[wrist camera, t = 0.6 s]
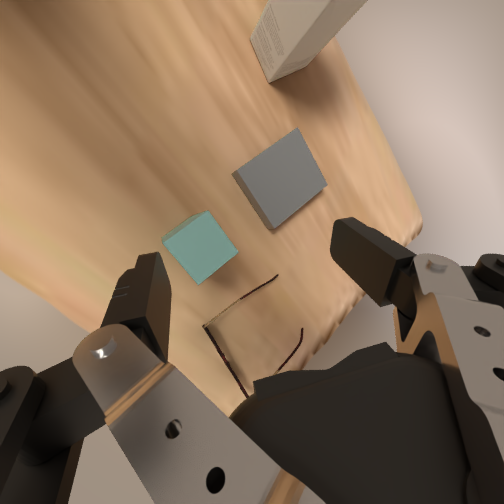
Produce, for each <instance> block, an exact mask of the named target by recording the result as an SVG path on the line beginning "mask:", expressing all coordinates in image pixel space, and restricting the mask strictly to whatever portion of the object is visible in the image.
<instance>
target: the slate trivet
mask: <svg viewBox="0 0 504 504" xmlns="http://www.w3.org/2000/svg"><path fill="white" fill-rule="evenodd" d="M232 176H233V177H234V179H235V180H236V182H237V183H238V185H239V186H240V188H241V189H242V191H243V192H244V194H245V195H246V197H247V198H248V200H249V202H250V203H251V205H252V206H253V208H254V209H255V211H256V212H257V214H258V215H259V217H260V218H261V220H262V221H263V223H264V224H265V226H266V227H267V229H275V228H276V227H277V226H279V225H280V224H281V223H282V222H283V221H285V220H286V219H287V218H288V217H289V216H291V215H292V214H293V213H294V212H296V211H297V210H298V209H299V208H300V207H302V206H303V205H304V204H305V203H306V202H308V201H309V200H310V199H311V198H312V197H314V196H315V195H316V194H317V193H318V192H320V191H321V190H322V189H323V188H324V187H326V186H327V183H326V181H325V179H324V177H323V175H322V173H321V171H320V169H319V167H318V165H317V163H316V161H315V160H314V158H313V156H312V154H311V152H310V150H309V148H308V146H307V144H306V142H305V140H304V138H303V136H302V134H301V132H300V131H299V129H298V127H297V128H296V129H294V130H293V131H292V132H290V133H289V134H287V135H286V136H284V137H283V138H282V139H280V140H279V141H277V142H276V143H275V144H273V145H272V146H270V147H269V148H267V149H266V150H265V151H263V152H262V153H260V154H259V155H258V156H256V157H255V158H253V159H252V160H250V161H249V162H248V163H246V164H245V165H243V166H242V167H241V168H239V169H238V170H236V171H235V172H234V173H232Z"/></svg>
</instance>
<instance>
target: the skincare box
mask: <svg viewBox="0 0 504 504" xmlns="http://www.w3.org/2000/svg"><path fill="white" fill-rule="evenodd" d="M366 2H367V0H268V2H267V4H266V6H265V8H264V10H263V12H262V14H261V16H260V19H259V21H258V23H257V25H256V27H255V29H254V31H253V33H252V35H251V37H250V41H251V43H252V46H253V48H254V50H255V53H256V55H257V57H258V60H259V62H260V65H261V67H262V69H263V72H264V74H265V76H266V79H267V81H268V83H270V82H272V81H275V80H277V79H279V78H282V77H284V76H286V75H288V74H291V73H293V72H295V71H297V70H300V69H302V68H304V67H306V66H307V65H308V64H309V63H310V62H311V61H312V60H313V58H314V57H315V56H316V55H317V54H318V53H319V52H320V51H321V50H322V49H323V48H324V47H325V46H326V44H327V43H328V42H329V41H330V40H331V39H332V38H333V37H334V36H335V35H336V33H338V31H339V30H340V29H341V28H342V27H343V26H344V25H345V24H346V23H347V22H348V21H349V20H350V19H351V17H352V16H353V15H354V14H355V13H356V12H357V11H358V10H359V9H360V8H361V7H362V6H363V5H364V4H365V3H366Z"/></svg>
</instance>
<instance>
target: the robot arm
mask: <svg viewBox="0 0 504 504" xmlns="http://www.w3.org/2000/svg"><path fill="white" fill-rule="evenodd" d="M330 253H331V256H332V259H333V260H334V261H335V262H336V263H337V264H338V265H339V266H340V267H341V268H342V269H343V270H344V271H345V272H346V273H347V274H348V275H349V276H350V277H351V278H352V279H353V280H354V281H355V282H356V283H357V284H358V285H359V286H360V287H361V288H362V289H363V290H364V291H365V292H366V293H367V294H368V295H369V296H370V297H371V298H372V299H373V300H374V301H375V302H376V303H377V304H378V305H379V306H380V307H382V306H386V305H390V304H394V305H395V308H394V310H393V318H394V326H395V335H396V344H397V352H394V350H393V349H392V348H391V347H390V346H389V345H388V344H387V342H383V343H380V344H377V345H373V346H370V347H367V348H363V349H360V350H357V351H355V352H353V353H352V354H350V355H349V356H348V357H346V358H345V359H343V360H342V361H340V362H339V363H337V364H336V365H335V366H333V367H332V368H330V369H327V370H300V371H286V372H283V373H279V374H276V375H273V376H269V377H266V378H263V379H259V380H256V381H253V385H254V394H252V395H251V396H249V397H248V398H247V399H246V400H244V401H243V402H242V403H241V404H240V405H239V406H238V407H237V408H236V409H235V410H234V411H233V413H232V414H231V415H230V417H229V418H228V417H227V416H226V415H225V414H224V413H223V412H222V411H221V410H220V409H219V408H218V407H217V406H216V405H215V404H214V403H213V402H212V401H210V400H209V399H208V398H207V397H206V396H205V395H204V394H203V393H202V392H201V391H200V390H199V389H198V388H197V387H196V386H195V385H194V384H193V383H192V382H191V381H190V380H189V379H187V378H186V377H185V376H184V375H183V374H182V373H181V372H180V371H179V370H178V369H177V368H176V367H175V366H174V365H173V364H171V363H170V362H167V360H168V344H169V328H170V312H171V295H172V293H171V285H170V281H169V278H168V275H167V272H166V269H165V266H164V264H163V261H162V258H161V255H160V253H159V252H154V253H148V254H143V255H139V256H138V259H137V262H136V266H135V268H133V269H128V270H127V271H126V272H125V273H124V274H123V275H122V276H121V277H120V278H119V279H118V282H117V285H116V287H115V290H114V293H113V295H112V298H111V300H110V303H109V306H108V308H107V311H106V314H105V316H104V319H103V322H102V324H101V327H100V328H99V329H97V330H95V331H94V332H92V333H91V334H89V335H88V336H87V337H86V338H84V339H83V340H82V341H81V342H80V344H79V345H78V346H77V348H76V350H75V351H74V354H73V357H71V358H69V359H67V360H65V361H63V362H61V363H59V364H57V365H55V366H52V367H50V368H48V369H46V370H44V371H42V372H40V373H38V374H36V373H35V372H34V371H33V370H32V369H31V368H30V367H27V366H17V367H12V368H9V369H6V370H3V371H1V372H0V504H68V501H69V497H70V493H71V489H72V485H73V481H74V477H75V473H76V469H77V465H78V461H79V457H80V453H81V449H82V445H83V441H84V437H86V436H87V435H89V434H90V433H92V432H94V431H95V430H97V429H99V428H100V427H102V426H103V425H105V424H107V425H108V427H109V429H110V431H111V432H112V434H113V435H114V437H115V439H116V441H117V442H118V444H119V446H120V447H121V449H122V450H123V452H124V454H125V455H126V457H127V458H128V460H129V462H130V463H131V465H132V467H133V468H134V470H135V472H136V473H137V475H138V477H139V478H140V480H141V482H142V483H143V485H144V486H145V488H146V490H147V491H148V493H149V494H150V496H151V498H152V500H153V501H154V503H155V504H504V255H500V254H484V255H482V256H481V257H480V258H479V260H478V262H477V263H476V265H475V266H459V265H458V264H457V263H456V262H454V261H452V260H450V259H448V258H446V257H443V256H439V255H435V254H419V255H416V254H414V253H413V252H411V251H410V250H408V249H407V248H405V247H403V246H402V245H400V244H399V243H397V242H395V241H394V240H391V238H389V237H387V236H384V234H383V233H381V232H379V231H378V230H376V229H374V228H371V227H368V226H366V225H365V224H363V223H362V222H360V221H359V220H357V219H355V218H354V217H349V218H344V219H338V220H336V221H335V222H334V225H333V231H332V238H331V245H330ZM164 363H165V364H164Z"/></svg>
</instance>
